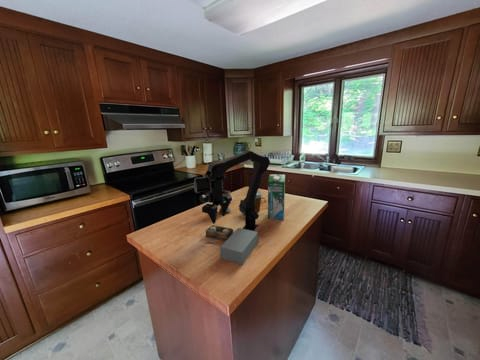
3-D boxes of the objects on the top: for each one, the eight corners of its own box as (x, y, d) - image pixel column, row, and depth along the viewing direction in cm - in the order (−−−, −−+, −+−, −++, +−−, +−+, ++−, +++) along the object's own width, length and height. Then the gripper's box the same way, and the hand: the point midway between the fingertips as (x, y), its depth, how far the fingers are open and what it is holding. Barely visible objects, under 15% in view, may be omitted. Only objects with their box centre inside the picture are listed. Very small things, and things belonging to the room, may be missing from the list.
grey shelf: (238, 238, 101) (238, 228, 99) (258, 242, 96) (257, 231, 95) (220, 258, 85) (220, 247, 84) (242, 264, 81) (242, 252, 80)
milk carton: (267, 218, 121) (268, 177, 115) (269, 212, 129) (269, 173, 123) (283, 220, 119) (284, 177, 113) (284, 213, 127) (285, 174, 121)
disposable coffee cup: (244, 211, 133) (243, 193, 130) (254, 206, 139) (253, 190, 137) (255, 215, 126) (255, 196, 123) (265, 210, 133) (265, 192, 130)
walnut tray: (206, 236, 103) (205, 230, 102) (213, 230, 109) (212, 224, 108) (227, 241, 98) (226, 234, 97) (233, 235, 104) (232, 228, 103)
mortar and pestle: (220, 217, 125) (219, 185, 120) (211, 213, 130) (209, 183, 125) (234, 211, 133) (232, 181, 128) (224, 208, 139) (223, 179, 134)
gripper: (212, 182, 109) (214, 210, 113) (190, 193, 93) (193, 225, 97) (231, 184, 104) (233, 213, 108) (211, 196, 88) (214, 229, 92)
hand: (218, 219), depth 101 cm, fingers open, 9 cm apart
